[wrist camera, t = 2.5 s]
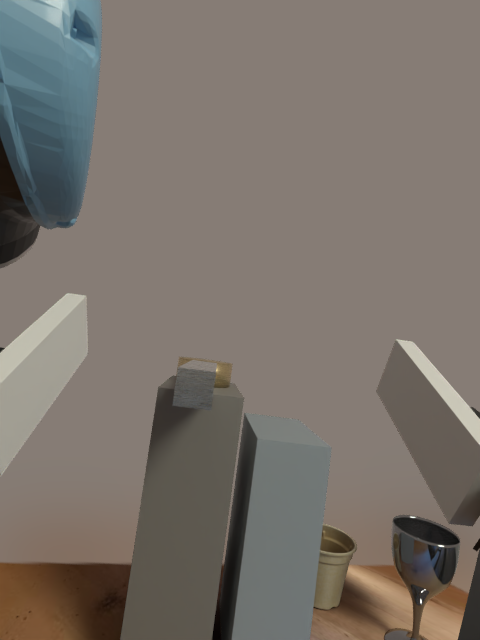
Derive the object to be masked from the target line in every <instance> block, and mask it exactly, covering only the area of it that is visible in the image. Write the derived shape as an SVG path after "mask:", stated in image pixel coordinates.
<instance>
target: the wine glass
mask: <svg viewBox="0 0 480 640" xmlns="http://www.w3.org/2000/svg"><path fill="white" fill-rule="evenodd" d="M391 544H392V555H393V561H394V565H395V568H396V570H397V572H398V574H399V576H400V577H401V579H402V581H403V582H404V584H405V585H406V587H407V589H408V591H409V593H410V595H411V598H412V602H413V630H412V631H410V630H407V629H401V628H394V629H391V630H389V631H387V632H386V634H385V637H384V638H385V640H428V639H426V638H425V637H423V636H421V635H420V634H419V628H420V622H421V617H422V612H423V609H424V606H425V604H426V603H427V602H428V601H429V600H430V599H431V598H432V597H434V596H436V595H437V594H439V593H441V592H443V591H444V590H445V589H446V588H448V587H449V585H450V584H451V582H452V579H453V577H454V574H455V571H456V568H457V563H458V558H459V550H460V539H459V537H458V536H457V534H455V533H454V532H453V531H452V530H450V529H448V528H447V527H445V526H443V525H441V524H438V523H436V522H433V521H431V520H428V519H424V518H420V517H416V516H410V515H399V516H396V517H394V518H393V524H392V536H391Z"/></svg>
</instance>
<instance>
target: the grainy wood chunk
mask: <svg viewBox="0 0 480 640" xmlns="http://www.w3.org/2000/svg"><path fill="white" fill-rule="evenodd" d="M231 371H232V364H231V363H226V362H220V361H213V360H206V359H198V358H189V357H179V361H178V367H177V374H176V385H175V391H174V398H173V405H172V406H179V407H186V408H194V409H202V410H210V411H211V405H212V398H213V391H214V388H229V386H230V379H231Z"/></svg>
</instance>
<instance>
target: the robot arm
mask: <svg viewBox="0 0 480 640" xmlns="http://www.w3.org/2000/svg"><path fill="white" fill-rule="evenodd" d="M101 14H102V12H101V3H100V0H0V268H3V267H5V266H8V265H10V264H12V263H14V262H16V261H17V260H18V259H20V258H22V257H23V256H24V255H25V254H26V253H27V252H28V251H29V250H30V249H31V248H32V246H33V245H34V243H35V241H36V238H37V235H38V232H39V228H40V226H42V227H44V228H47V229H53V228H56V227H60V228H69V227H71V226H73V225H74V224H75V222H76V219H77V217H78V215H79V212H80V209H81V206H82V202H83V197H84V192H85V187H86V181H87V175H88V168H89V161H90V155H91V148H92V140H93V132H94V123H95V114H96V105H97V95H98V84H99V72H100V58H101V35H102V34H101V33H102V15H101ZM86 298H87V296H84V295H76V294H69V293H67V294H66V295H65V296H64V297H63V298H61V299H60V300H59V301H58V302H57V303H56V304H55V305H53V306H52V307H51V308H50V309H49V310H48V311H47V312H46V313H44V314H43V315H42V316H41V317H40V318H39V319H38V320H37V321H35V322H34V323H33V324H32V325H31V326H30V327H29V328H28V329H26V330H25V331H24V332H23V333H22V334H21V335H20V336H19V337H17V338H16V339H15V340H14V341H13V342H12V343H11V344H10V345H9V346H7V347H6V348H0V476H1V475H2V474H3V472H4V471H5V470H6V468H7V467H8V465H9V464H10V463H11V461H12V460H13V458H14V457H15V456H16V454H17V453H18V451H19V450H20V448H21V447H22V446H23V444H24V443H25V441H26V440H27V439H28V437H29V436H30V434H31V433H32V432H33V430H34V429H35V427H36V426H37V425H38V423H39V422H40V420H41V419H42V418H43V416H44V415H45V413H46V412H47V410H48V409H49V407H50V406H51V405H52V403H53V402H54V401H55V399H56V398H57V396H58V395H59V393H60V392H61V391H62V389H63V388H64V387H65V385H66V383H67V382H68V381H69V379H70V378H71V377H72V375H73V374H74V372H75V371H76V370H77V368H78V367H79V365H80V364H81V362H82V361H83V360H84V358H85V357H86V355H87V354H88V341H87V299H86ZM376 392H377V394H378V395H379V397H380V399H381V401H382V403H383V405H384V406H385V408H386V410H387V412H388V413H389V415H390V417H391V419H392V421H393V423H394V425H395V426H396V428H397V430H398V432H399V434H400V436H401V437H402V439H403V441H404V443H405V445H406V446H407V448H408V450H409V452H410V454H411V456H412V458H413V459H414V461H415V463H416V465H417V467H418V468H419V470H420V472H421V474H422V476H423V478H424V479H425V481H426V483H427V485H428V487H429V488H430V490H431V492H432V494H433V496H434V498H435V499H436V501H437V503H438V505H439V507H440V509H441V510H442V512H443V514H444V516H445V518H446V519H447V521H448V523H449V524H456V525H466V526H473V525H474V524H475V522H476V520H477V519H478V517H479V516H480V412H478V411H477V410H476V409H474V408H473V407H469V406H468V405H467V404H466V402H465V401H464V400H463V399H462V398H461V397H460V396H459V394H458V393H457V392H456V391H455V390H454V389H453V387H452V386H451V385H450V384H449V383H448V382H447V380H446V379H445V378H444V377H443V376H442V375H441V374H440V372H439V371H438V370H437V369H436V368H435V367H434V366H433V364H432V363H431V362H430V361H429V360H428V359H427V358H426V356H425V355H424V354H423V353H422V352H421V350H420V349H419V348H418V347H417V346H416V345H415V343H414V342H411V341H404V340H397V339H396V341H395V343H394V346H393V348H392V351H391V354H390V356H389V359H388V362H387V364H386V367H385V369H384V372H383V375H382V377H381V380H380V382H379V385H378V388H377V390H376ZM479 548H480V539H479V540H478V542H477V543H476V545H475V546H474V548H473V549H474V550H476V551H478V549H479ZM458 640H480V550H479V554H478V558H477V562H476V567H475V571H474V575H473V579H472V583H471V587H470V591H469V596H468V600H467V604H466V608H465V612H464V616H463V620H462V625H461V629H460V633H459V637H458Z"/></svg>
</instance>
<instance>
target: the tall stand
mask: <svg viewBox="0 0 480 640" xmlns="http://www.w3.org/2000/svg"><path fill="white" fill-rule="evenodd" d="M175 385H176V376H172V377H170V378H169V379H168V380H167V381H166V382H164V383H163V384H162V385H161V386H159V387H158V393H157V400H156V407H155V414H154V420H153V426H152V433H151V440H150V446H149V453H148V460H147V466H146V473H145V479H144V486H143V493H142V499H141V506H140V512H139V519H138V526H137V532H136V539H135V545H134V552H133V559H132V565H131V572H130V578H129V585H128V592H127V598H126V605H125V611H124V618H123V625H122V631H121V638H120V640H212V634H213V627H214V619H215V612H216V604H217V597H218V589H219V582H220V574H221V567H222V558H223V552H224V544H225V537H226V529H227V521H228V514H229V507H230V499H231V492H232V484H233V477H234V468H235V462H236V454H237V447H238V439H239V432H240V424H241V417H242V409H243V402H244V397H243V396H242V394H241V393H240V391H239V390H238V388H237V387H236V385H235V384H233V383H230V386H229V388H214V391H213V398H212V405H211V411H210V410H202V409H194V408H186V407H179V406H172V405H173V398H174V391H175Z"/></svg>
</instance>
